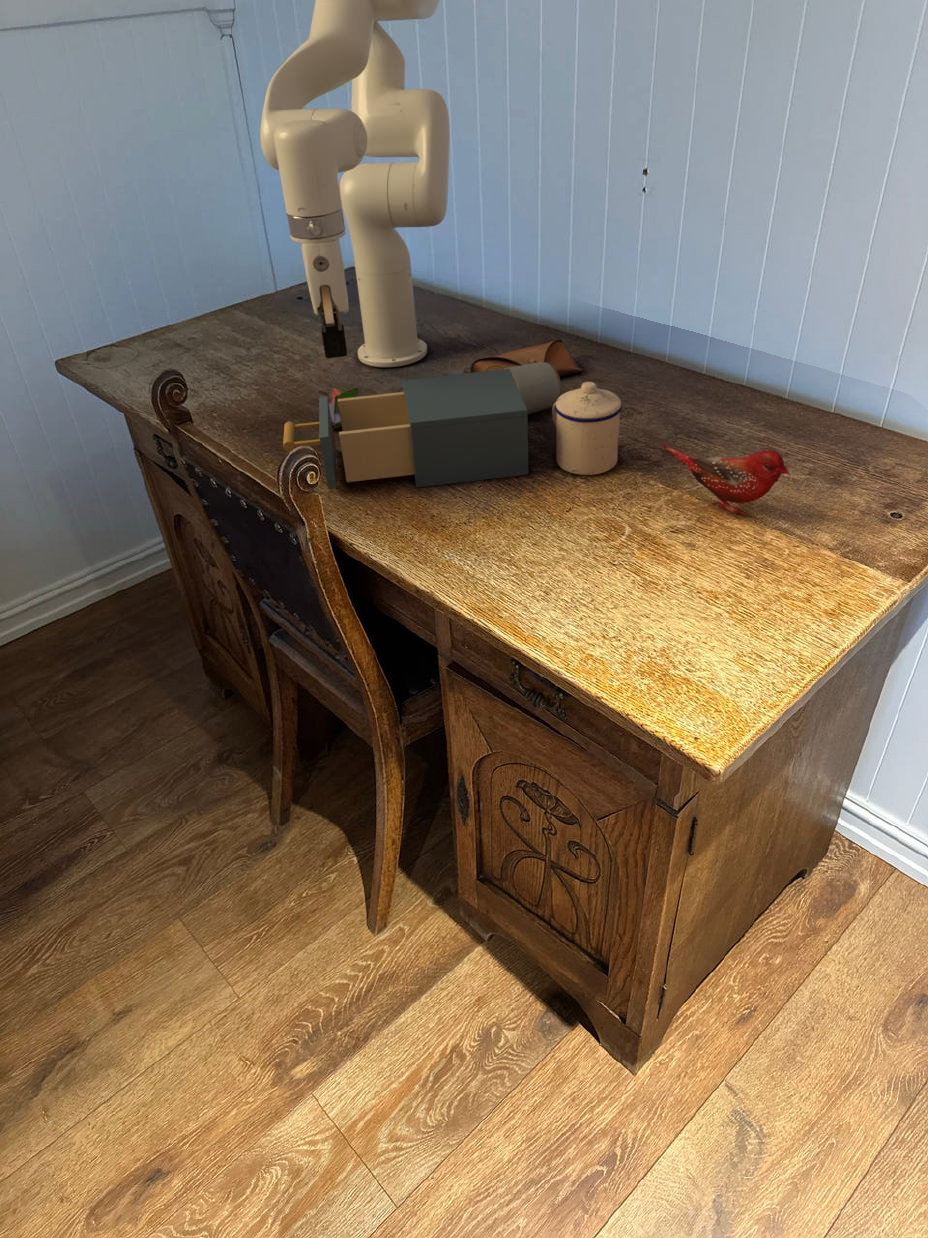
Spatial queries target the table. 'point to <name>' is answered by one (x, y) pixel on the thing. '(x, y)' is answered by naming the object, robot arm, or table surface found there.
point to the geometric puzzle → (336, 394)
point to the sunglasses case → (531, 359)
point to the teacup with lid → (587, 430)
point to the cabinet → (467, 427)
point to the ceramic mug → (537, 385)
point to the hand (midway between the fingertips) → (336, 353)
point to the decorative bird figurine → (735, 475)
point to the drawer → (362, 437)
